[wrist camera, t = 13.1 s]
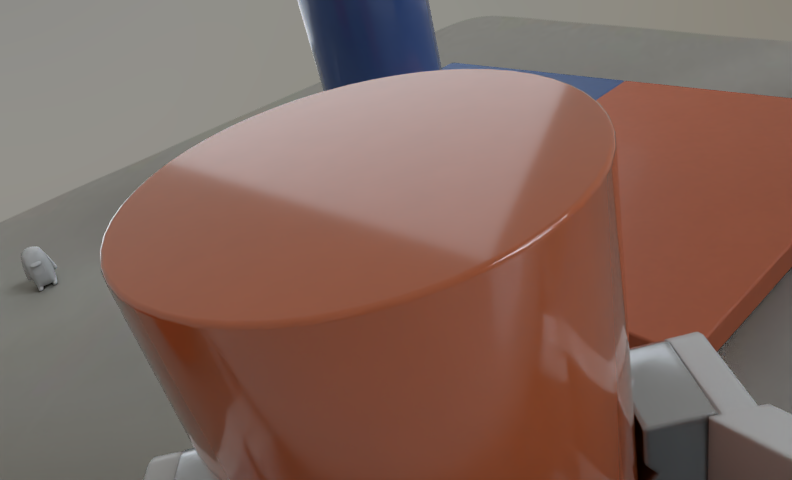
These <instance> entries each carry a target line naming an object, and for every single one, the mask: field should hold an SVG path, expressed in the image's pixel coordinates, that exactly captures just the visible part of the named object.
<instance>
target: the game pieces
mask: <svg viewBox="0 0 792 480" xmlns="http://www.w3.org/2000/svg"><path fill="white" fill-rule="evenodd" d="M21 260H22V265H23V268H24V271H25V274H26V277H27V279H28V280H33V281H34V283H35V284H36V285H37V287H38V289H39V290H40V291H41V290H43V289H44V287H43V286H45V285H47V284H50V283H52V282H53V285H55V284H56V283H57V278H56V273H55V269H56V268H57V266H56V264H55V263H54V262H53V261H52V260H51V258H50V257H49V256H48V255H47V254H46V253H45V252H43V251H42V250H41V249H40V248H39V247H38V246H37V247H28V248H26V249H25V250H24V251H23V252H22V254H21Z"/></svg>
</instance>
